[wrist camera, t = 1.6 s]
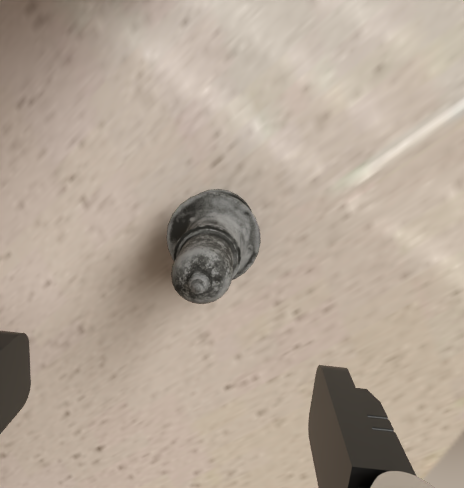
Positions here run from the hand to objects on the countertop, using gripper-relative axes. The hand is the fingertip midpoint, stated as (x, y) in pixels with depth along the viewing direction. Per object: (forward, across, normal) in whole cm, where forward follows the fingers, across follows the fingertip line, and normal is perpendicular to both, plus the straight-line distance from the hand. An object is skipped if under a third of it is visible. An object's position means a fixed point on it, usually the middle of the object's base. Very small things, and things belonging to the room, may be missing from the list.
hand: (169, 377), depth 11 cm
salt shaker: (+19, 0, 0) cm, 19 cm away
